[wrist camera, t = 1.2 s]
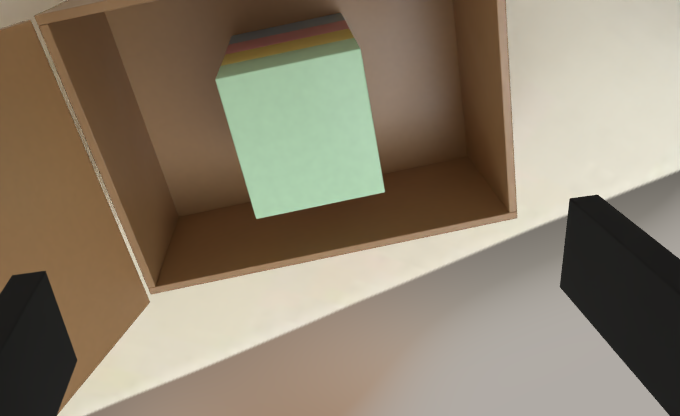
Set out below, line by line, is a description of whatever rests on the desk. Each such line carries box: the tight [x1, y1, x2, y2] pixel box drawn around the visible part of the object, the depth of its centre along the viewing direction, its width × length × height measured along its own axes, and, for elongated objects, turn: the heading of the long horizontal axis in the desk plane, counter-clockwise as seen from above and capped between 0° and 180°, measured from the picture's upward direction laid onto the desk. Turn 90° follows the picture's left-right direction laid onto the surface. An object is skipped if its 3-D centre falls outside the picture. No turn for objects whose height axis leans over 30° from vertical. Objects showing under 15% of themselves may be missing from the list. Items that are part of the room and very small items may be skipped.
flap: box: [0, 20, 150, 415], centre depth 22 cm, size 9×14×1 cm
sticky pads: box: [215, 13, 385, 219], centre depth 29 cm, size 6×7×9 cm
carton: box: [35, 0, 517, 294], centre depth 30 cm, size 19×14×8 cm
